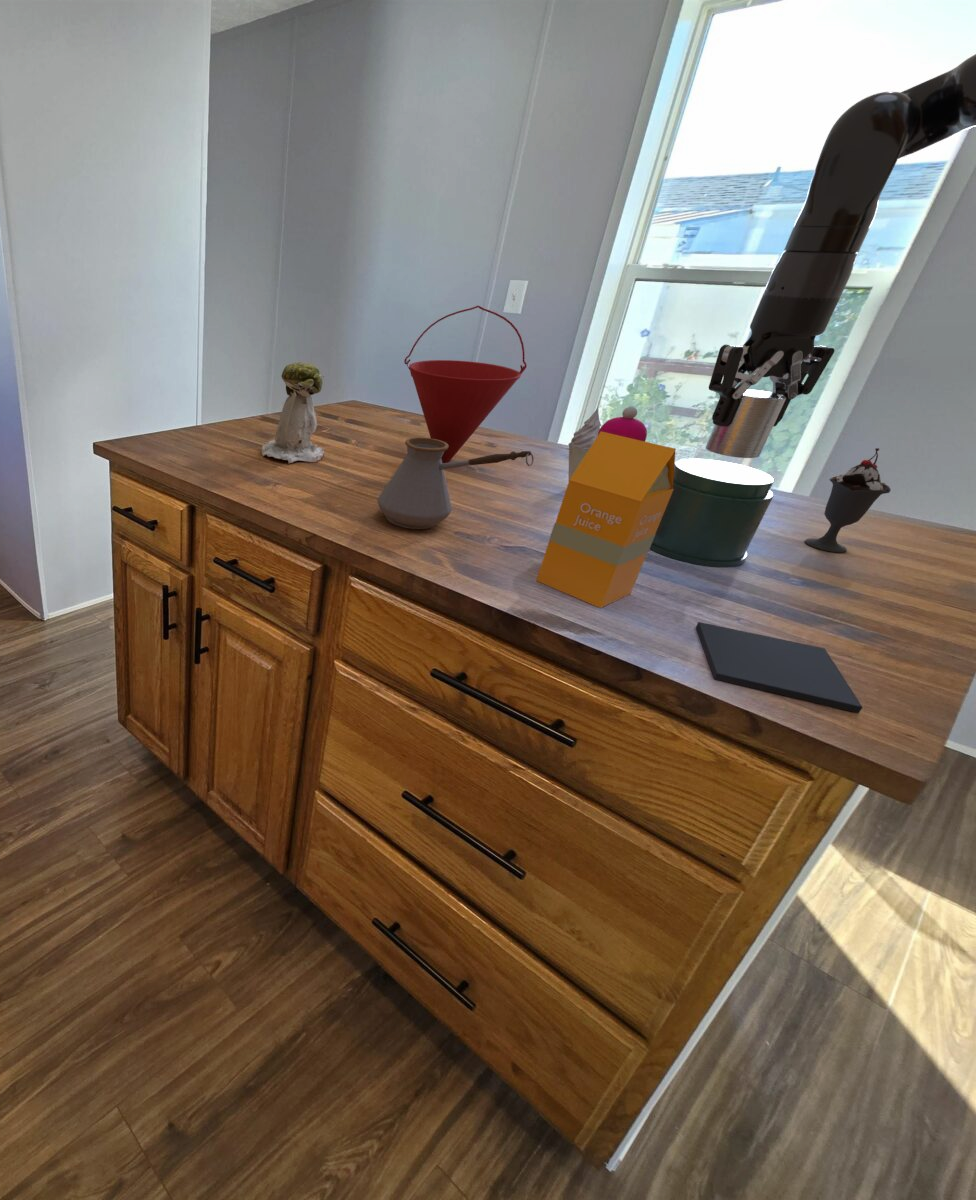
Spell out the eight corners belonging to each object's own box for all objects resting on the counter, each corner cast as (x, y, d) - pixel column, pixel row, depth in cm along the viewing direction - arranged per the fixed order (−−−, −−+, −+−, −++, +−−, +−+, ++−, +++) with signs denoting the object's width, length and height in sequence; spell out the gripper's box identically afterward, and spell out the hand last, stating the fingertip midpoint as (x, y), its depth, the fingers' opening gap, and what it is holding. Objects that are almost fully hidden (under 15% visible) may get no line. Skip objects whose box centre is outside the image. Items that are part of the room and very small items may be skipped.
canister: (734, 539, 103) (770, 465, 97) (755, 575, 92) (797, 494, 86) (632, 522, 108) (660, 451, 102) (641, 554, 97) (672, 476, 91)
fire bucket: (489, 458, 138) (530, 302, 123) (508, 489, 121) (558, 313, 106) (384, 449, 142) (410, 298, 127) (388, 478, 125) (419, 308, 110)
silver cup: (753, 449, 94) (780, 391, 90) (764, 460, 89) (792, 400, 85) (701, 443, 96) (725, 386, 92) (709, 454, 91) (734, 395, 87)
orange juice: (566, 567, 93) (616, 427, 83) (631, 593, 86) (693, 444, 77) (534, 580, 89) (582, 435, 79) (600, 608, 83) (661, 454, 73)
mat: (821, 653, 75) (825, 647, 74) (858, 713, 65) (863, 707, 65) (695, 627, 79) (698, 621, 79) (713, 679, 70) (717, 673, 70)
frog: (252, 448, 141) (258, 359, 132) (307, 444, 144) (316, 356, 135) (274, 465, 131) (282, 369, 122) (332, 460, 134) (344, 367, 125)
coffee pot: (361, 519, 107) (376, 427, 100) (397, 502, 114) (414, 415, 107) (489, 562, 94) (518, 460, 87) (521, 540, 101) (550, 444, 94)
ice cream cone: (585, 495, 119) (614, 412, 111) (554, 490, 121) (580, 408, 113) (585, 487, 122) (613, 406, 115) (555, 482, 125) (581, 402, 117)
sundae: (834, 538, 103) (886, 445, 96) (864, 556, 98) (923, 459, 90) (787, 535, 104) (835, 442, 97) (815, 553, 99) (868, 456, 91)
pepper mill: (558, 523, 107) (599, 399, 97) (608, 530, 105) (656, 404, 95) (562, 540, 101) (607, 409, 91) (616, 548, 99) (667, 415, 89)
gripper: (772, 294, 79) (714, 432, 87) (885, 295, 80) (817, 432, 88) (724, 289, 85) (674, 418, 94) (828, 290, 86) (770, 418, 94)
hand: (743, 424), depth 91 cm, fingers closed on silver cup, 6 cm apart
